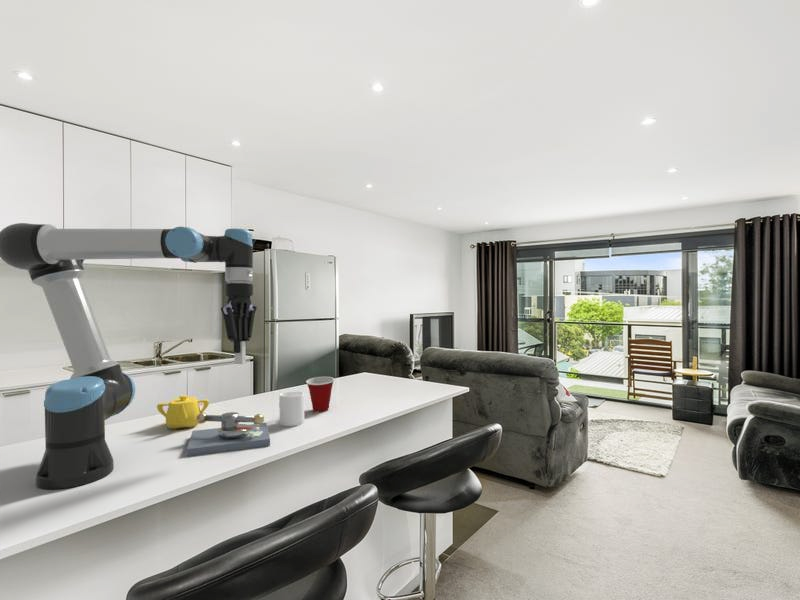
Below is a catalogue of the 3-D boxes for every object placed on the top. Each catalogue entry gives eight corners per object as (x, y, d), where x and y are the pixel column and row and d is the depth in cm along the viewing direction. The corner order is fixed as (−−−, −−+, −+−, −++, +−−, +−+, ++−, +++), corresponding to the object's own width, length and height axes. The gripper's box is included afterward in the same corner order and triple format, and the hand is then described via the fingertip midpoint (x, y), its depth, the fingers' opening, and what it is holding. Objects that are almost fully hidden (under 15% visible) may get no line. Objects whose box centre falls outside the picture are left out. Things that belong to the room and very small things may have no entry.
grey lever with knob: (188, 438, 125) (188, 416, 125) (205, 428, 134) (205, 408, 134) (257, 440, 123) (256, 418, 123) (269, 430, 132) (269, 410, 131)
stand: (186, 456, 117) (186, 444, 117) (192, 437, 133) (192, 427, 133) (270, 445, 125) (269, 434, 125) (266, 428, 141) (266, 419, 141)
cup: (288, 428, 141) (287, 398, 141) (269, 421, 149) (269, 392, 149) (309, 422, 147) (308, 393, 147) (290, 416, 155) (290, 388, 155)
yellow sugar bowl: (214, 423, 147) (214, 393, 147) (180, 434, 136) (180, 402, 136) (187, 418, 153) (187, 390, 153) (153, 428, 142) (153, 397, 142)
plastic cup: (300, 411, 161) (299, 380, 161) (318, 405, 170) (318, 375, 170) (322, 415, 156) (322, 383, 156) (340, 408, 165) (340, 377, 165)
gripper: (234, 281, 116) (235, 368, 116) (264, 283, 128) (264, 360, 129) (212, 282, 118) (213, 366, 118) (243, 283, 131) (244, 359, 131)
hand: (240, 363), depth 123 cm, fingers closed
